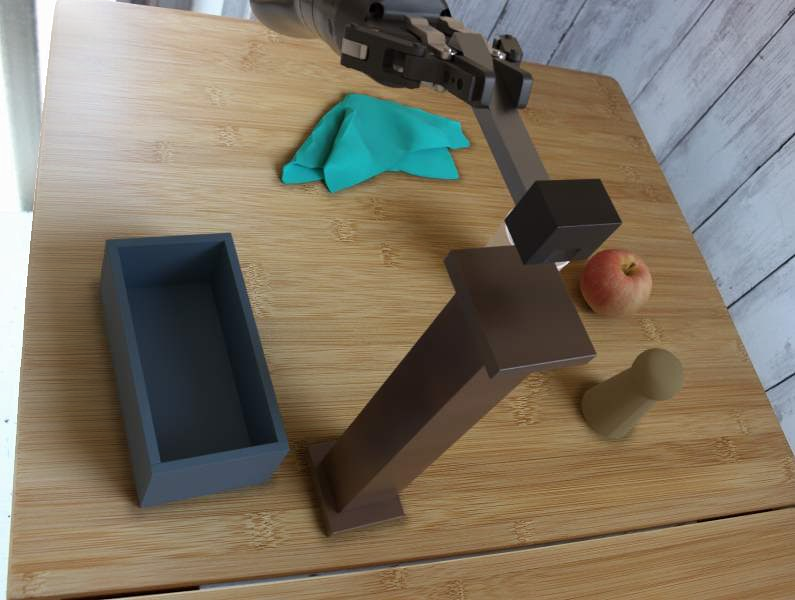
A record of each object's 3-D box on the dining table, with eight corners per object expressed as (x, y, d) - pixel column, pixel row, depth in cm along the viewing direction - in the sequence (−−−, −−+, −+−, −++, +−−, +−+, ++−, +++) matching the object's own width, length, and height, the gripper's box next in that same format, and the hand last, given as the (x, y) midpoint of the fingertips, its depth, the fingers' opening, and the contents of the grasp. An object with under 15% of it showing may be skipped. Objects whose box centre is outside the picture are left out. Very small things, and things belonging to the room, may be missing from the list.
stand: (400, 520, 74) (598, 355, 49) (327, 538, 71) (499, 370, 45) (374, 436, 77) (545, 242, 52) (303, 450, 74) (450, 249, 49)
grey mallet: (586, 260, 47) (623, 223, 44) (523, 265, 45) (557, 227, 42) (487, 50, 54) (513, 7, 51) (427, 47, 51) (452, 1, 49)
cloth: (444, 94, 106) (451, 82, 104) (487, 180, 101) (495, 168, 99) (249, 99, 93) (254, 84, 92) (286, 197, 88) (292, 184, 86)
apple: (579, 329, 93) (619, 293, 87) (559, 269, 97) (597, 230, 91) (636, 330, 97) (679, 295, 90) (615, 272, 100) (655, 234, 94)
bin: (266, 483, 71) (290, 449, 65) (139, 508, 66) (151, 475, 60) (214, 278, 80) (231, 232, 74) (98, 288, 75) (105, 239, 69)
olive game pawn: (589, 376, 90) (650, 327, 82) (636, 406, 91) (701, 360, 82) (574, 418, 87) (635, 371, 78) (622, 449, 87) (689, 406, 78)
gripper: (296, -43, 56) (414, 18, 43) (468, -25, 63) (615, 33, 50) (285, 68, 60) (391, 155, 47) (449, 74, 66) (582, 153, 53)
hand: (506, 92), depth 48 cm, fingers closed on grey mallet, 2 cm apart
